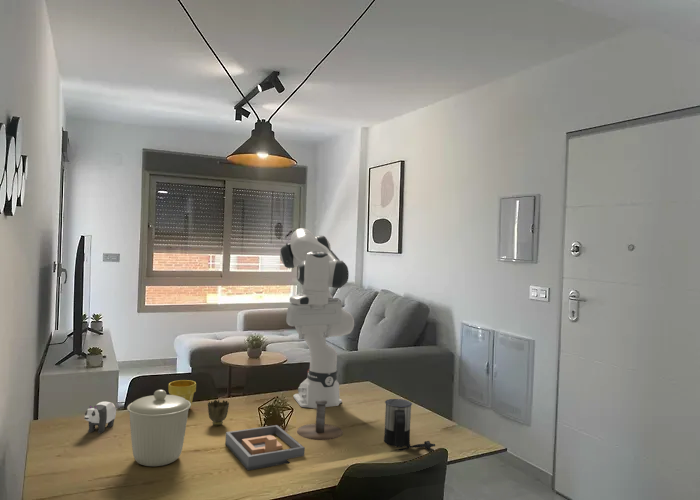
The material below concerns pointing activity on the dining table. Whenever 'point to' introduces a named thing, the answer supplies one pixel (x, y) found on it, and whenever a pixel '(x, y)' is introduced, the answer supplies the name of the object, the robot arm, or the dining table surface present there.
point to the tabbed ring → (269, 440)
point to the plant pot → (183, 389)
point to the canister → (158, 428)
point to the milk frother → (399, 425)
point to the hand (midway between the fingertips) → (313, 338)
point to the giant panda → (100, 416)
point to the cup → (218, 411)
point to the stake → (320, 426)
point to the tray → (262, 459)
